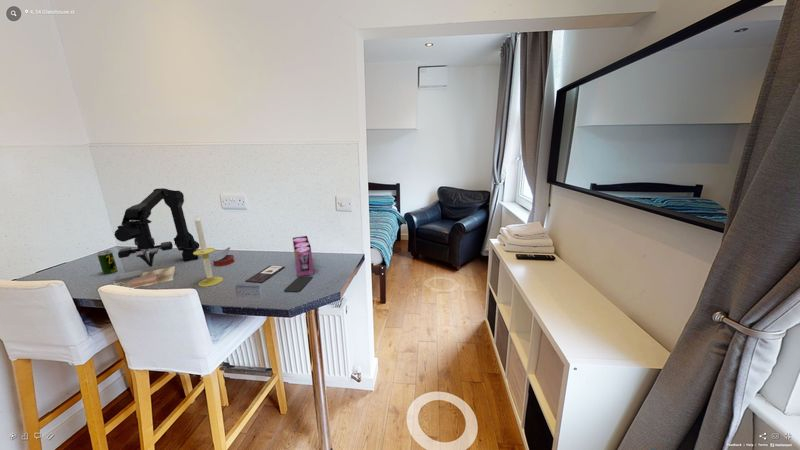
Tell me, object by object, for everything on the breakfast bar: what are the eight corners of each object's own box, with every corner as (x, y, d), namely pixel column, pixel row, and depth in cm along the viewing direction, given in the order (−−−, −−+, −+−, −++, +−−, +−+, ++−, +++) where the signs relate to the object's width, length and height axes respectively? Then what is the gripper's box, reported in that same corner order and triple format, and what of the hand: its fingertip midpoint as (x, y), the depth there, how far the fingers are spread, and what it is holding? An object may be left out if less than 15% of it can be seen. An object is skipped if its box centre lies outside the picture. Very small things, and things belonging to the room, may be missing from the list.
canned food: (230, 272, 156) (224, 260, 149) (212, 271, 156) (205, 259, 149) (240, 256, 164) (234, 245, 157) (223, 255, 164) (216, 243, 158)
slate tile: (142, 269, 145) (118, 274, 140) (139, 275, 139) (114, 280, 134) (143, 273, 146) (119, 277, 141) (140, 278, 139) (115, 283, 134)
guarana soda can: (100, 276, 144) (93, 254, 141) (108, 272, 149) (101, 250, 146) (113, 275, 145) (106, 252, 142) (120, 270, 150) (114, 249, 147)
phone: (313, 276, 137) (299, 291, 122) (313, 278, 137) (299, 293, 122) (298, 276, 137) (282, 290, 123) (299, 277, 138) (283, 292, 123)
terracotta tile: (157, 273, 140) (133, 278, 135) (155, 279, 134) (129, 284, 129) (158, 276, 141) (134, 281, 136) (156, 282, 134) (131, 288, 129)
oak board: (175, 266, 154) (175, 266, 154) (172, 280, 137) (172, 280, 137) (117, 278, 141) (117, 277, 141) (106, 295, 124) (106, 294, 124)
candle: (207, 277, 140) (193, 212, 131) (227, 277, 139) (214, 211, 131) (192, 287, 130) (176, 217, 121) (214, 286, 129) (199, 216, 121)
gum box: (314, 275, 139) (311, 248, 135) (297, 278, 136) (294, 251, 132) (310, 258, 160) (307, 235, 157) (295, 261, 158) (292, 237, 154)
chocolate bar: (245, 280, 133) (269, 265, 150) (245, 282, 134) (269, 267, 151) (262, 282, 132) (284, 266, 149) (262, 284, 132) (285, 268, 149)
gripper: (169, 227, 143) (176, 257, 147) (118, 234, 132) (128, 265, 137) (167, 232, 134) (175, 263, 138) (113, 240, 124) (123, 273, 128)
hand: (151, 266), depth 135 cm, fingers closed
